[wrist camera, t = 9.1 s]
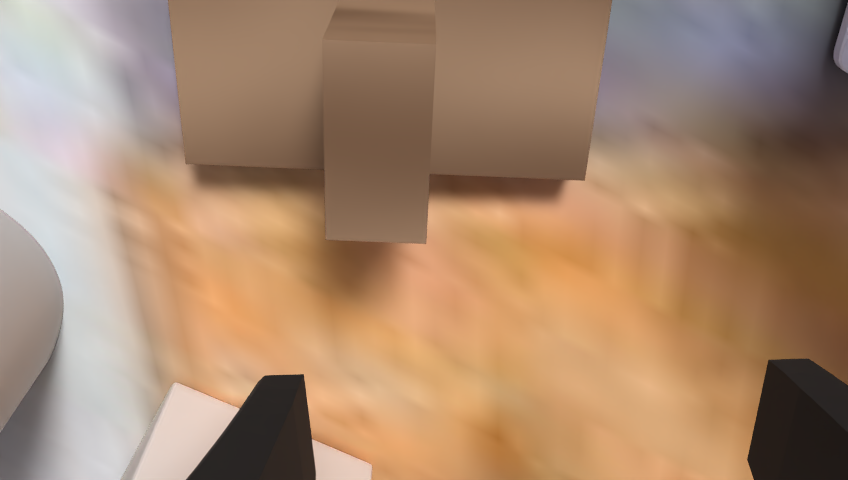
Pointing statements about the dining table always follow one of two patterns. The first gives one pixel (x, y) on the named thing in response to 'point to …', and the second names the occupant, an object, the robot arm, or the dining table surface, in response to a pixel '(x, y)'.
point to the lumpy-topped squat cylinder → (25, 313)
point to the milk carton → (211, 441)
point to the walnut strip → (389, 95)
